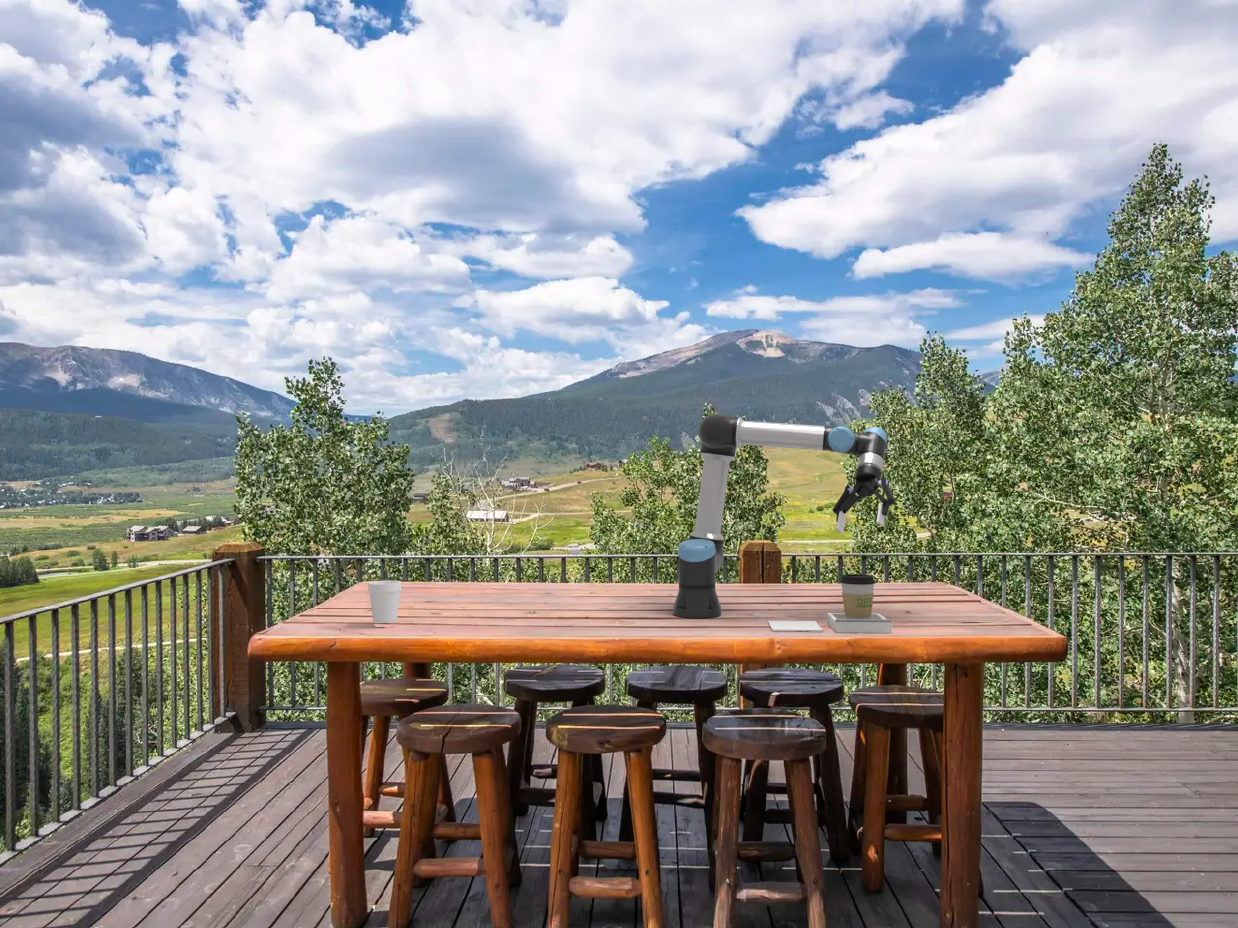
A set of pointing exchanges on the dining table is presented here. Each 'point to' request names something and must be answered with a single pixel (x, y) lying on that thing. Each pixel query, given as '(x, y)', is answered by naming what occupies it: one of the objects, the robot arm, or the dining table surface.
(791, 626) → the rubber mat
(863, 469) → the robot arm
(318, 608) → the dining table surface
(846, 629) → the cup holder
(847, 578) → the coffee cup
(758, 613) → the dining table surface
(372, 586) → the foam cup
